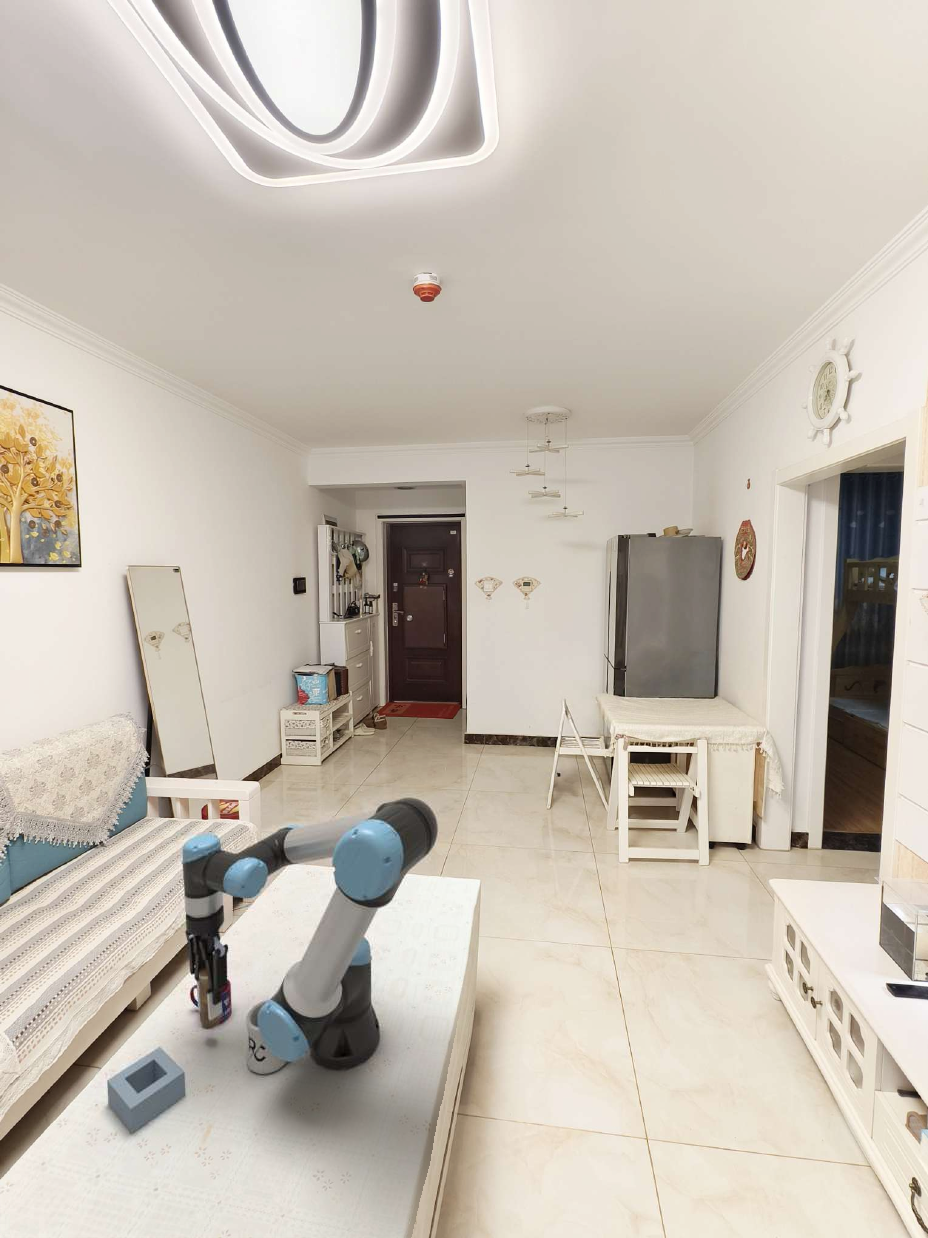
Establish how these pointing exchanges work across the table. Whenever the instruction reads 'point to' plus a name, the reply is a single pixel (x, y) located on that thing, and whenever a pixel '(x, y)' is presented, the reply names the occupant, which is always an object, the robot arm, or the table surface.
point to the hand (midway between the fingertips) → (210, 1011)
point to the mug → (259, 1046)
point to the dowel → (206, 1001)
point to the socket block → (146, 1089)
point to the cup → (225, 1001)
